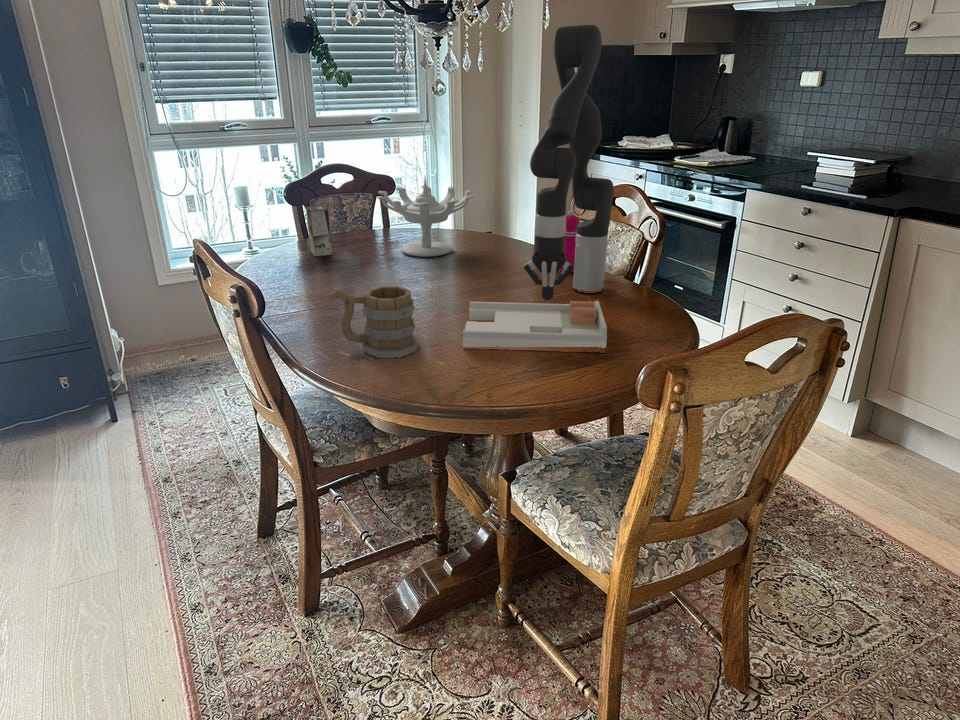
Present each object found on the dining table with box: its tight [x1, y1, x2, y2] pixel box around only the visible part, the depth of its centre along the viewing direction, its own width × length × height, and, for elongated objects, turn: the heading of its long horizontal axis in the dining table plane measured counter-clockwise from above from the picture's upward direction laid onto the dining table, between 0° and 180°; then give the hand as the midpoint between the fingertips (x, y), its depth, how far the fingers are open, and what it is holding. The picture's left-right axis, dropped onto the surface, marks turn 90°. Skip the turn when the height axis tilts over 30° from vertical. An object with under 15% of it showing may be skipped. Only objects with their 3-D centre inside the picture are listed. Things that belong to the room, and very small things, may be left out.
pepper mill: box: [560, 210, 581, 271], centre depth 215 cm, size 7×7×20 cm
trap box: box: [462, 300, 608, 349], centre depth 165 cm, size 22×34×6 cm, turn 86°
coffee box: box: [305, 205, 333, 257], centre depth 234 cm, size 9×6×16 cm
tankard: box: [328, 285, 419, 359], centre depth 155 cm, size 20×13×15 cm, turn 92°
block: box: [569, 300, 596, 325], centre depth 167 cm, size 6×6×4 cm
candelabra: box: [377, 177, 475, 258], centre depth 234 cm, size 34×35×27 cm
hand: (547, 299), depth 167 cm, fingers closed
